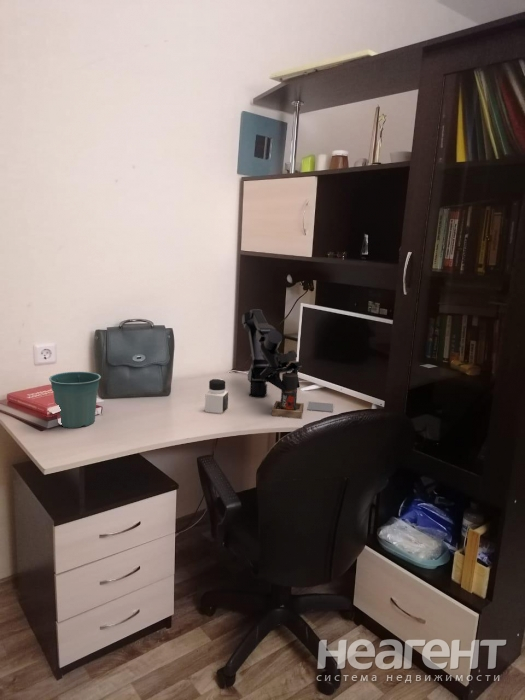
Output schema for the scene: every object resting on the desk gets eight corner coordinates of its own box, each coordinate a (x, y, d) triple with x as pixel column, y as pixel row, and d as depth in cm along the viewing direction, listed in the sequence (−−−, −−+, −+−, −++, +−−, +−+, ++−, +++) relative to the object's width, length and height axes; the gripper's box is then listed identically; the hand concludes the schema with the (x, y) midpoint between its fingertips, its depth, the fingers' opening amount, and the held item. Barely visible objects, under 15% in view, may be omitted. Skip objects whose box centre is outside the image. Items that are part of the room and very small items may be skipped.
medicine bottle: (222, 414, 186) (223, 383, 184) (204, 412, 188) (205, 381, 185) (228, 408, 193) (229, 378, 191) (210, 406, 194) (211, 376, 192)
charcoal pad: (307, 410, 195) (307, 409, 195) (308, 402, 205) (308, 401, 205) (332, 412, 194) (332, 411, 194) (333, 404, 203) (333, 403, 203)
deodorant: (297, 411, 193) (299, 374, 190) (293, 416, 188) (295, 377, 185) (282, 409, 195) (284, 372, 192) (278, 413, 189) (280, 375, 186)
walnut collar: (271, 415, 187) (272, 409, 186) (275, 406, 197) (276, 400, 197) (301, 418, 185) (301, 412, 185) (303, 409, 196) (303, 403, 195)
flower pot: (83, 411, 183) (81, 368, 179) (111, 421, 173) (110, 377, 170) (41, 422, 170) (38, 377, 166) (69, 434, 160) (67, 386, 157)
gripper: (267, 346, 182) (288, 382, 177) (299, 341, 195) (320, 374, 190) (251, 363, 189) (270, 398, 184) (283, 357, 202) (303, 389, 197)
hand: (292, 389), depth 188 cm, fingers open, 8 cm apart
